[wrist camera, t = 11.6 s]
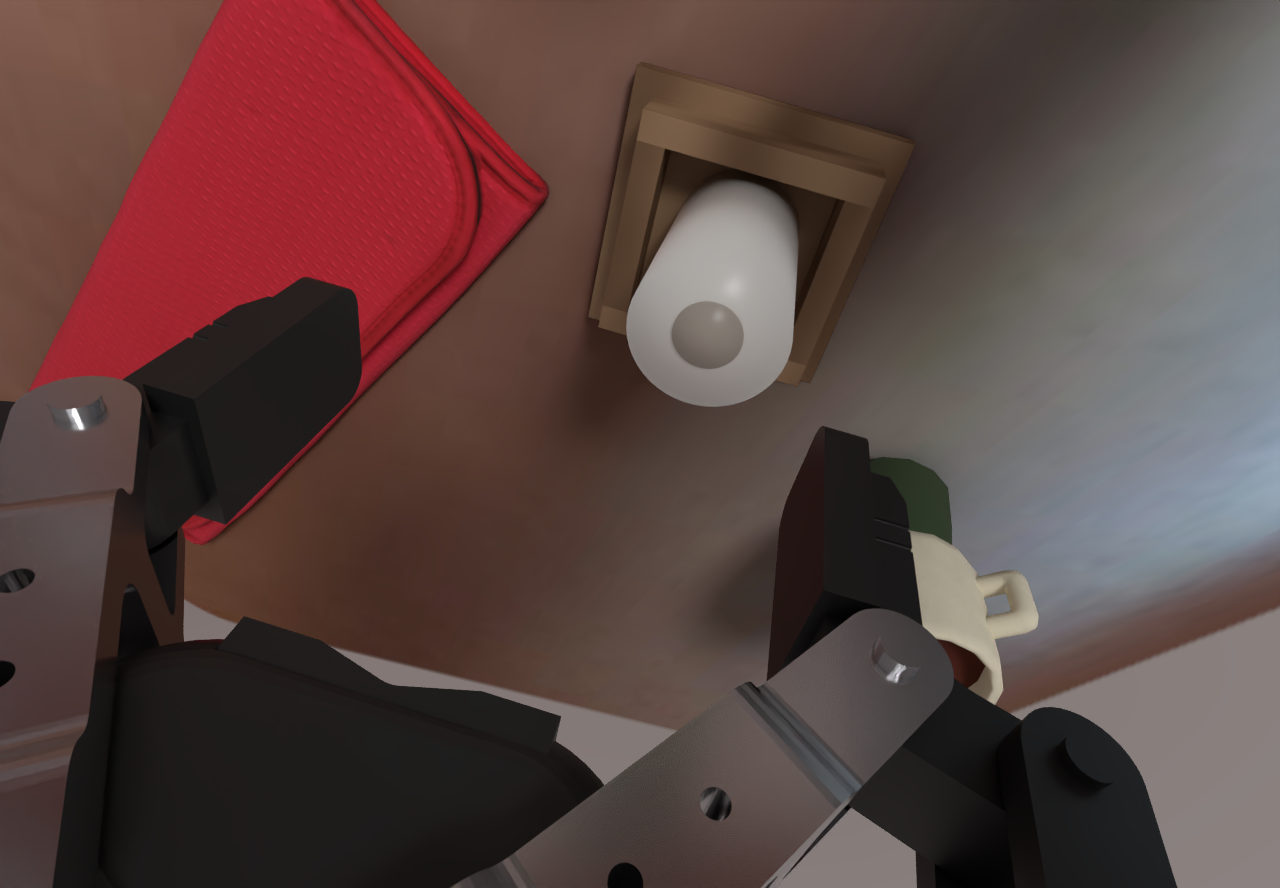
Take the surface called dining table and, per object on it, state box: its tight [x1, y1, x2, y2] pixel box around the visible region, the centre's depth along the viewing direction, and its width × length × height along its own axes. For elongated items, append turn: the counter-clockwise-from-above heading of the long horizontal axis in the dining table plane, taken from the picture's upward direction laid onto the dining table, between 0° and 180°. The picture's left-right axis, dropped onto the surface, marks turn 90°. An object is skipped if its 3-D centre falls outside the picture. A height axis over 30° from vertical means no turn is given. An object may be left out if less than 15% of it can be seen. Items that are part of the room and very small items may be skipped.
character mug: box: [870, 457, 1039, 705], centre depth 35 cm, size 11×7×13 cm, turn 122°
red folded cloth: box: [29, 0, 549, 545], centre depth 41 cm, size 16×41×4 cm, turn 134°
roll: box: [626, 169, 800, 407], centre depth 28 cm, size 6×6×11 cm
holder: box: [588, 62, 915, 387], centre depth 32 cm, size 12×12×4 cm
